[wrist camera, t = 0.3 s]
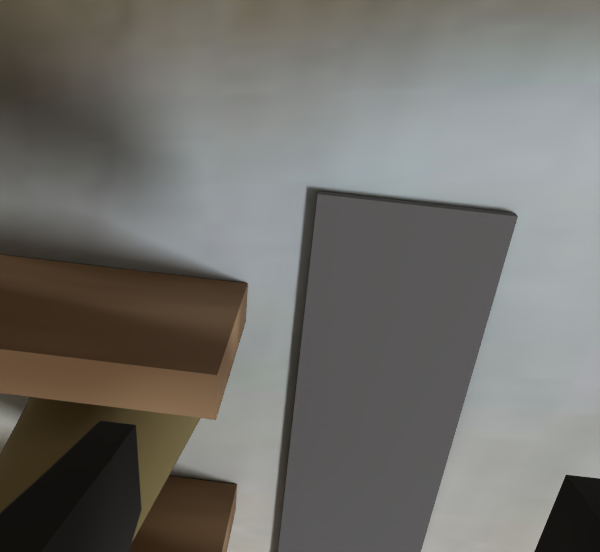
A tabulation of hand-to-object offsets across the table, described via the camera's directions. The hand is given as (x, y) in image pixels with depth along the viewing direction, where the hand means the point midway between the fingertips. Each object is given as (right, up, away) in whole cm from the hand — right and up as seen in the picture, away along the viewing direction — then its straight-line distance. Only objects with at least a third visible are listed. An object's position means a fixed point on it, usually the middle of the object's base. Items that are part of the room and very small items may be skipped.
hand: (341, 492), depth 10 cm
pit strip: (+2, -2, +12) cm, 12 cm away
